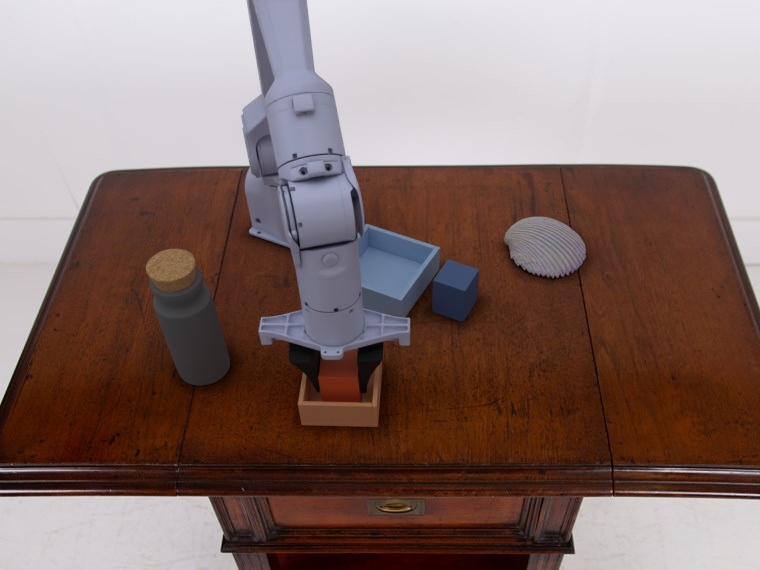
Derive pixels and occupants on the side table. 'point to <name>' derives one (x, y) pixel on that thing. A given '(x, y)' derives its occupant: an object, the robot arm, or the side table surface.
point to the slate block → (455, 290)
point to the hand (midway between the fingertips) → (341, 385)
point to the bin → (394, 270)
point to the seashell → (545, 246)
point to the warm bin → (341, 405)
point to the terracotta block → (340, 379)
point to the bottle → (187, 317)
